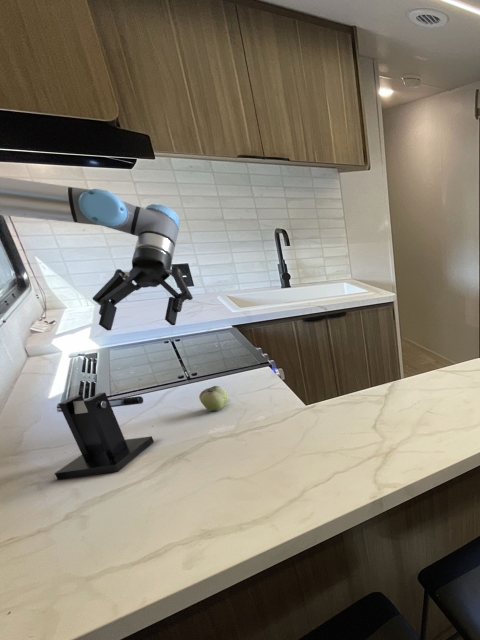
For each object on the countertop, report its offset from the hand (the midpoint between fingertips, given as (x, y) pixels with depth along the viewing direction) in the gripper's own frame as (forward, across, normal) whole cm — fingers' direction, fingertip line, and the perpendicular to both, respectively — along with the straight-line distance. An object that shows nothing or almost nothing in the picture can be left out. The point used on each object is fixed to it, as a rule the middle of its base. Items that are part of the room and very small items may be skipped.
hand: (137, 324), depth 96 cm
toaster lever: (+23, 0, +3) cm, 23 cm away
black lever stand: (+33, 0, 0) cm, 33 cm away
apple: (+16, -11, -17) cm, 26 cm away
